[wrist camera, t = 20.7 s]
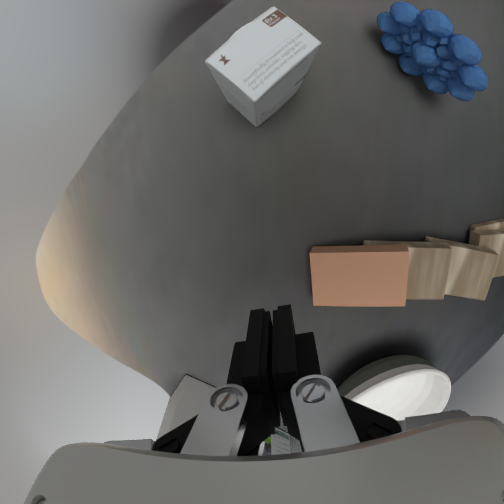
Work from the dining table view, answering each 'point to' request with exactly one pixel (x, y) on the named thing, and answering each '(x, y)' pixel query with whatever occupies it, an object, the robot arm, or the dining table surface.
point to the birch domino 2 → (469, 269)
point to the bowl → (399, 387)
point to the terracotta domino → (359, 275)
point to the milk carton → (184, 403)
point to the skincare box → (263, 64)
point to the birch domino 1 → (424, 267)
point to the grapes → (433, 50)
